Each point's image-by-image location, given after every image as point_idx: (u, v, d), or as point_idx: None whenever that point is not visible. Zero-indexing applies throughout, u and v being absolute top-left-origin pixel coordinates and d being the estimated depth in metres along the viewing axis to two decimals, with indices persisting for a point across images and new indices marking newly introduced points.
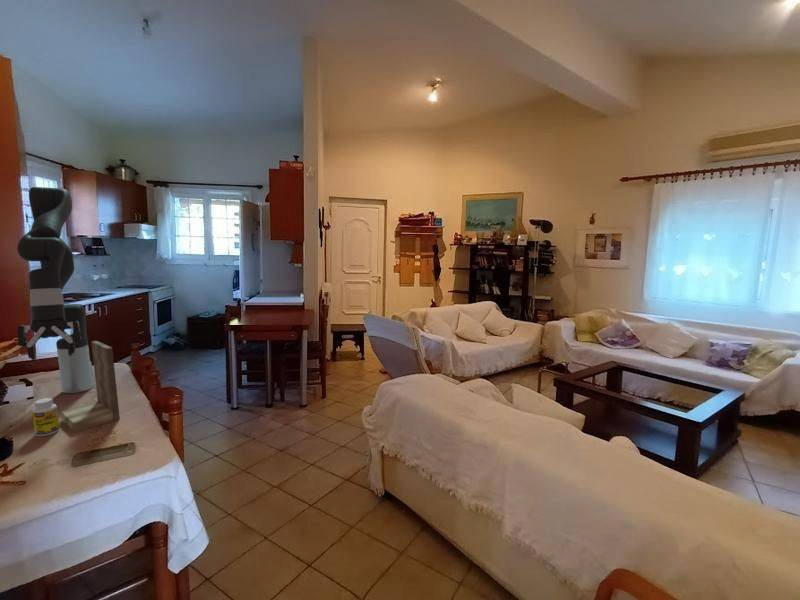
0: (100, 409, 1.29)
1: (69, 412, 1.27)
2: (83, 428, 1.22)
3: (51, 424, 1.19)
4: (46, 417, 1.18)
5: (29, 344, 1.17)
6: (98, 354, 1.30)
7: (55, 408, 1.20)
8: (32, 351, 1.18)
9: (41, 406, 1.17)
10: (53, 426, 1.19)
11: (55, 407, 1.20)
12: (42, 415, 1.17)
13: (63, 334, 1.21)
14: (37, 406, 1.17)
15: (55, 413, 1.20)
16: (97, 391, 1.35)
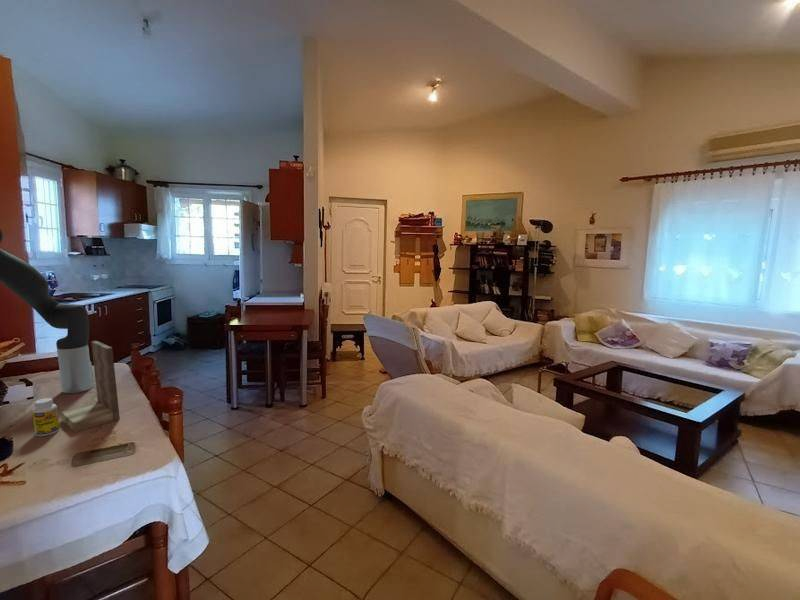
0: (100, 409, 1.29)
1: (69, 412, 1.27)
2: (83, 428, 1.22)
3: (51, 424, 1.19)
4: (46, 417, 1.18)
5: None
6: (98, 354, 1.30)
7: (55, 408, 1.20)
8: None
9: (41, 406, 1.17)
10: (53, 426, 1.19)
11: (55, 407, 1.20)
12: (42, 415, 1.17)
13: None
14: (37, 406, 1.17)
15: (55, 413, 1.20)
16: (97, 391, 1.35)
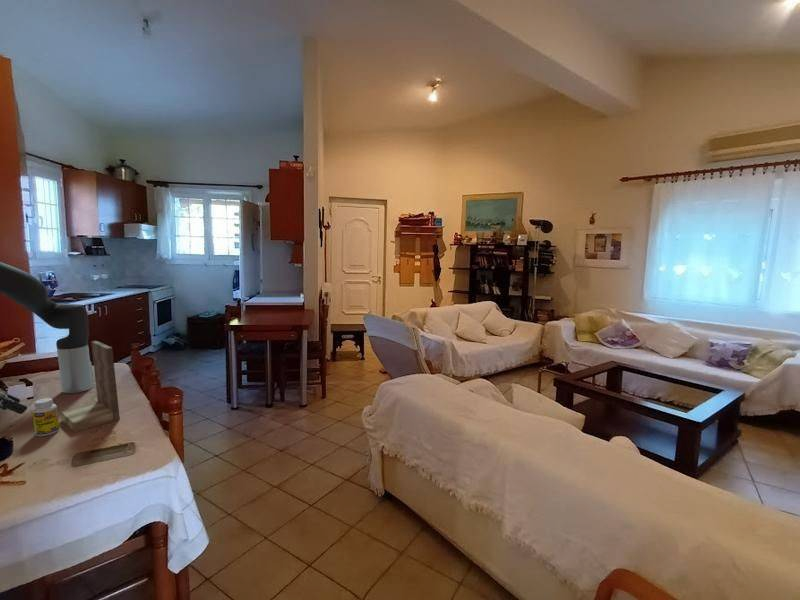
0: (100, 409, 1.29)
1: (69, 412, 1.27)
2: (83, 428, 1.22)
3: (51, 424, 1.19)
4: (46, 417, 1.18)
5: None
6: (98, 354, 1.30)
7: (55, 408, 1.20)
8: None
9: (41, 406, 1.17)
10: (53, 426, 1.19)
11: (55, 407, 1.20)
12: (42, 415, 1.17)
13: None
14: (37, 406, 1.17)
15: (55, 413, 1.20)
16: (97, 391, 1.35)
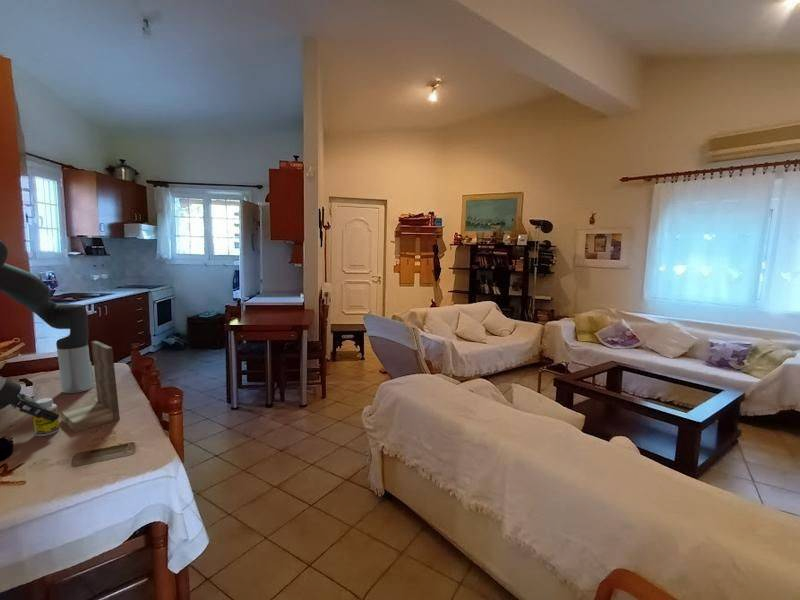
0: (100, 409, 1.29)
1: (69, 412, 1.27)
2: (83, 428, 1.22)
3: (51, 424, 1.19)
4: None
5: None
6: (98, 354, 1.30)
7: (55, 408, 1.20)
8: None
9: (41, 406, 1.17)
10: (53, 426, 1.19)
11: (55, 407, 1.20)
12: None
13: None
14: None
15: None
16: (97, 391, 1.35)
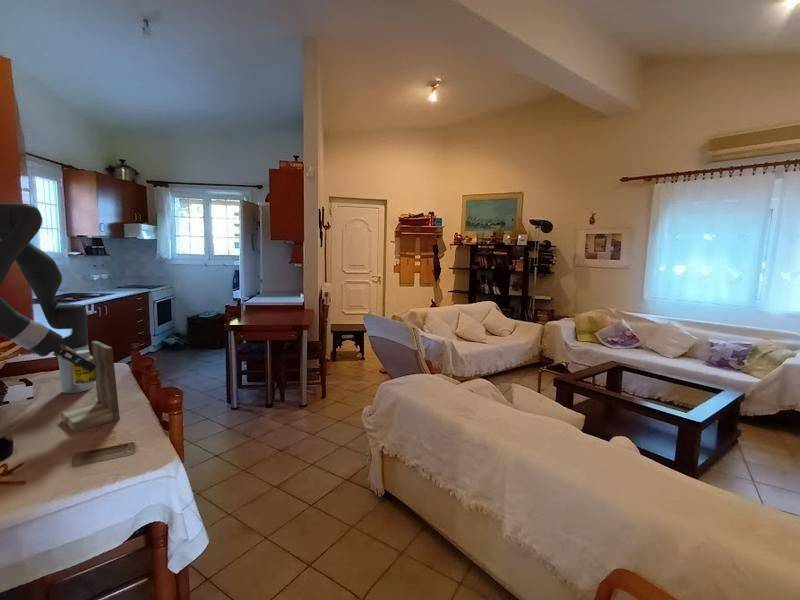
0: (100, 409, 1.29)
1: (69, 412, 1.27)
2: (83, 428, 1.22)
3: (89, 374, 1.25)
4: None
5: None
6: (98, 354, 1.30)
7: (92, 359, 1.26)
8: None
9: (80, 356, 1.24)
10: (91, 376, 1.26)
11: (92, 358, 1.26)
12: None
13: (67, 362, 1.21)
14: None
15: None
16: (97, 391, 1.35)
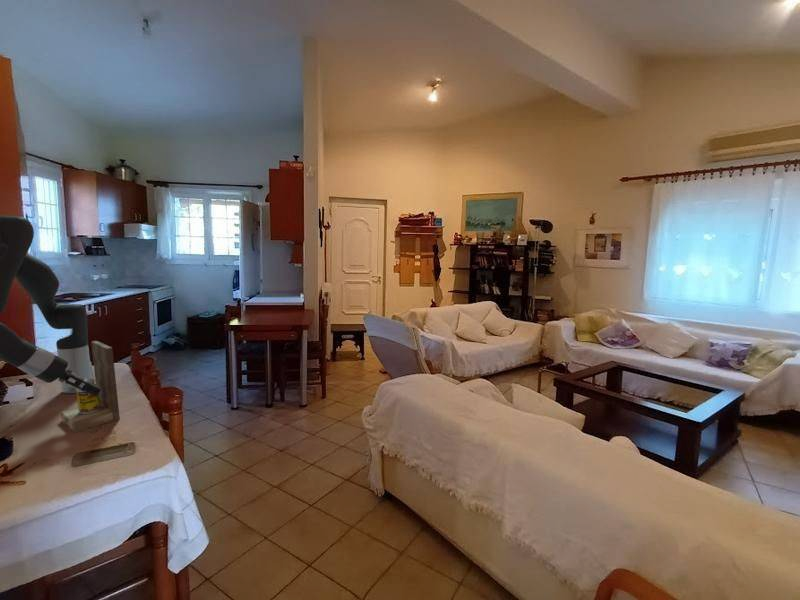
0: (100, 409, 1.29)
1: (69, 412, 1.27)
2: (83, 428, 1.22)
3: (93, 402, 1.27)
4: (89, 396, 1.26)
5: None
6: (98, 354, 1.30)
7: None
8: None
9: None
10: (95, 404, 1.28)
11: (97, 387, 1.28)
12: (86, 394, 1.25)
13: (72, 387, 1.22)
14: (81, 385, 1.25)
15: None
16: None
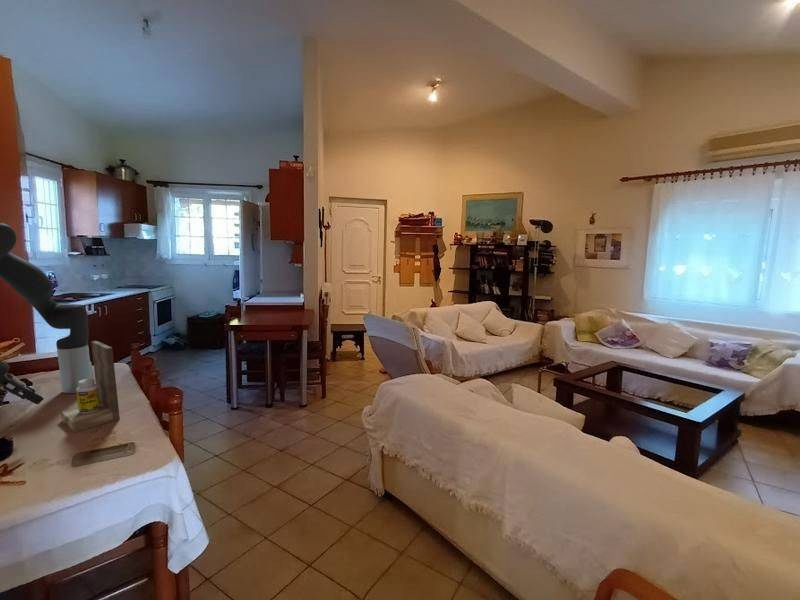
0: (100, 409, 1.29)
1: (69, 412, 1.27)
2: (83, 428, 1.22)
3: (93, 402, 1.27)
4: (88, 396, 1.26)
5: None
6: (98, 354, 1.30)
7: (97, 388, 1.28)
8: (21, 392, 1.19)
9: (84, 386, 1.25)
10: (95, 404, 1.28)
11: (97, 387, 1.28)
12: (86, 394, 1.25)
13: (11, 393, 1.11)
14: (81, 385, 1.25)
15: (97, 392, 1.28)
16: None
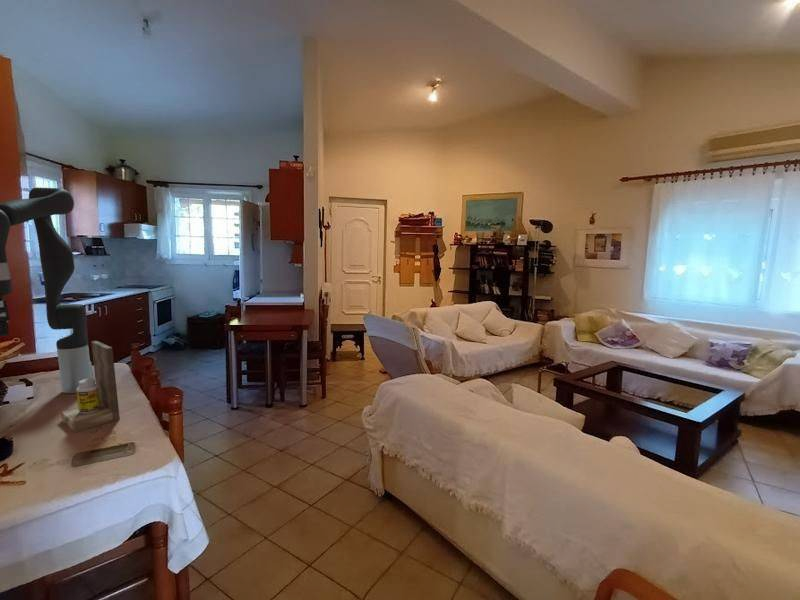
0: (100, 409, 1.29)
1: (69, 412, 1.27)
2: (83, 428, 1.22)
3: (93, 402, 1.27)
4: (89, 396, 1.26)
5: None
6: (98, 354, 1.30)
7: (97, 388, 1.28)
8: None
9: (85, 386, 1.25)
10: (95, 405, 1.28)
11: (97, 387, 1.28)
12: (86, 394, 1.25)
13: None
14: (81, 385, 1.25)
15: (97, 392, 1.28)
16: None
